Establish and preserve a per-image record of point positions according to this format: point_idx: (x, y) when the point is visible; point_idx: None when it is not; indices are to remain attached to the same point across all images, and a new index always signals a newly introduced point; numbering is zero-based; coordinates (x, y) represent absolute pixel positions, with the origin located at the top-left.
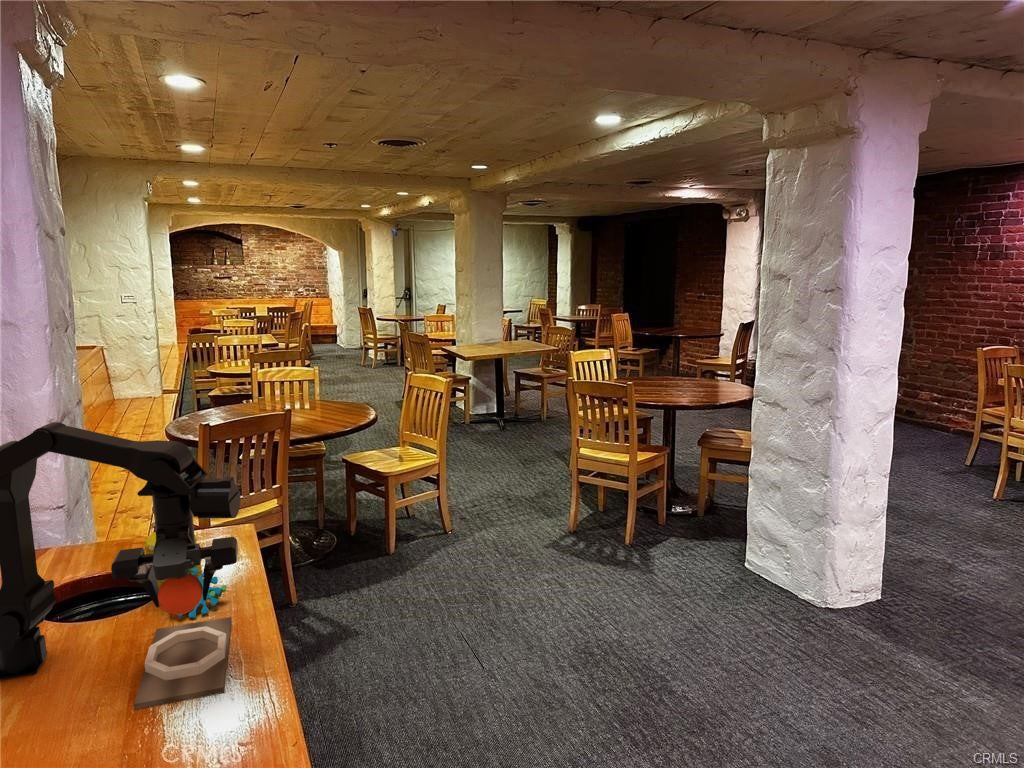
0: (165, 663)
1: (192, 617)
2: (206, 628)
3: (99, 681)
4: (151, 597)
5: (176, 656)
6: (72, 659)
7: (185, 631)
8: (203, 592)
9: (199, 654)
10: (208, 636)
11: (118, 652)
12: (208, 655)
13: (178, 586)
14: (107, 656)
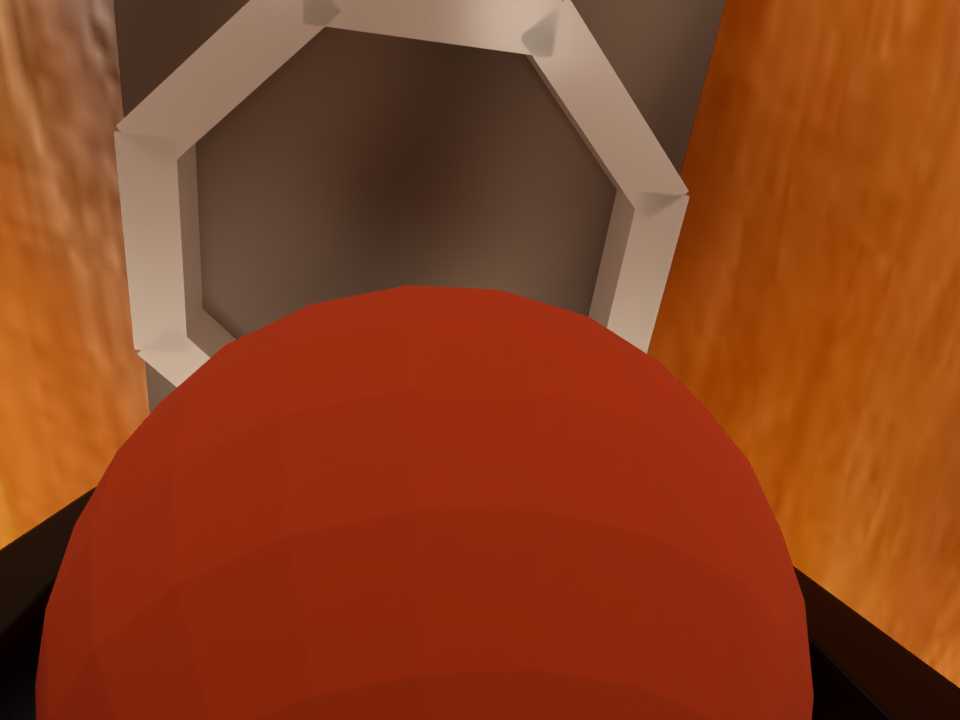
0: (545, 220)
1: None
2: None
3: (885, 234)
4: (859, 622)
5: (477, 272)
6: (945, 479)
7: None
8: (52, 568)
9: (330, 236)
10: None
11: (754, 464)
12: (237, 91)
13: (472, 687)
14: (806, 449)
